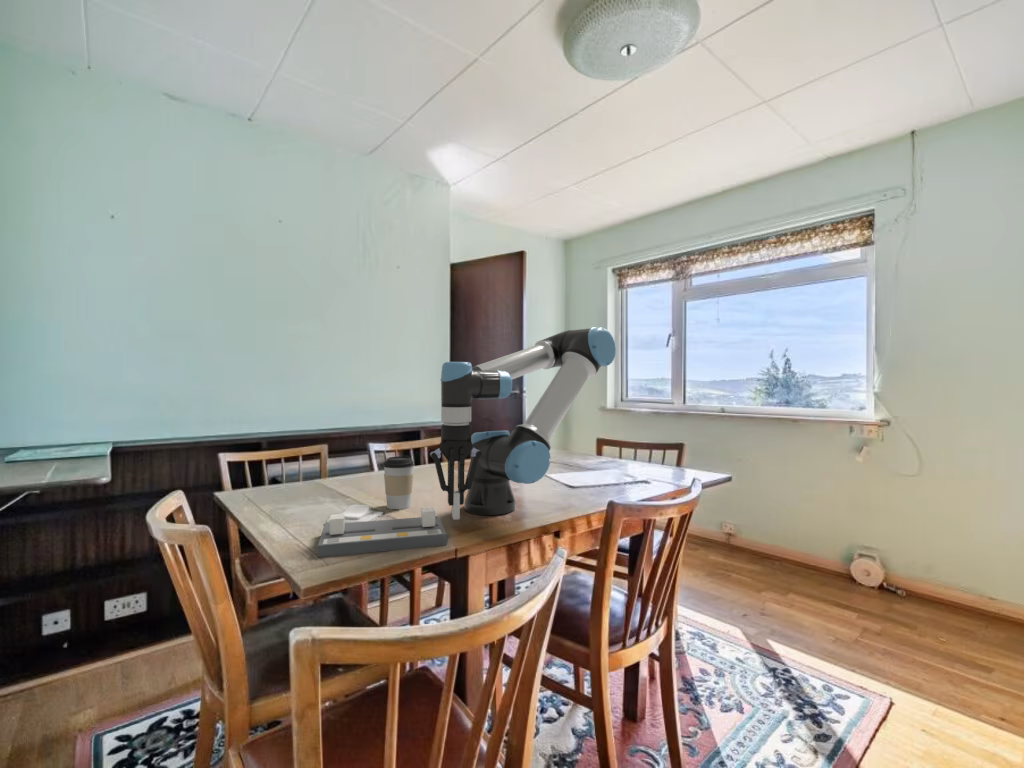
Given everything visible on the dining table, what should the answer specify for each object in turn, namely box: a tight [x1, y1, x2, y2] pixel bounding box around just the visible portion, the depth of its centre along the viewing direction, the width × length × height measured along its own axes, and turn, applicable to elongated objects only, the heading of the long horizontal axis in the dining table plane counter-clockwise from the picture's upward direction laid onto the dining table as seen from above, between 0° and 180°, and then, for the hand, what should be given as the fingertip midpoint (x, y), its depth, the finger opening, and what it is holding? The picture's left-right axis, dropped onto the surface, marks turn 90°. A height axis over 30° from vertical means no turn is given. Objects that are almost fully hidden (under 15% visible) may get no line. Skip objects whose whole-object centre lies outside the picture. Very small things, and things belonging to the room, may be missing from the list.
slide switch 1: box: [329, 513, 345, 535], centre depth 111 cm, size 3×4×4 cm
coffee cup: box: [382, 454, 415, 510], centre depth 142 cm, size 9×9×15 cm
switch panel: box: [317, 515, 448, 558], centre depth 114 cm, size 28×15×3 cm, turn 106°
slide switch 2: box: [420, 506, 436, 527], centre depth 116 cm, size 3×4×4 cm
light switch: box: [325, 504, 384, 525], centre depth 130 cm, size 11×4×13 cm
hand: (455, 517), depth 118 cm, fingers closed
